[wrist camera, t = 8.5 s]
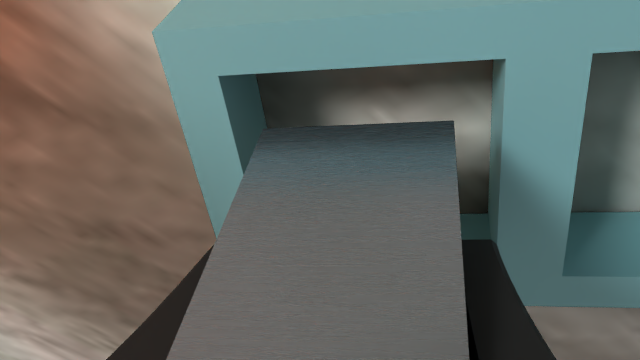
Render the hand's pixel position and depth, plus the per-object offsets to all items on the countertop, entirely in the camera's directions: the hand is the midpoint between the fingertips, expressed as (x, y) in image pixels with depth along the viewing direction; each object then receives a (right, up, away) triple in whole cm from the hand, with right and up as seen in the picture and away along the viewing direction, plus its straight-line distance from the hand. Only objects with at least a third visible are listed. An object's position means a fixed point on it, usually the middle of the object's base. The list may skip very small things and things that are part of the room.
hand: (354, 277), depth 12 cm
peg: (0, +1, +2) cm, 2 cm away
